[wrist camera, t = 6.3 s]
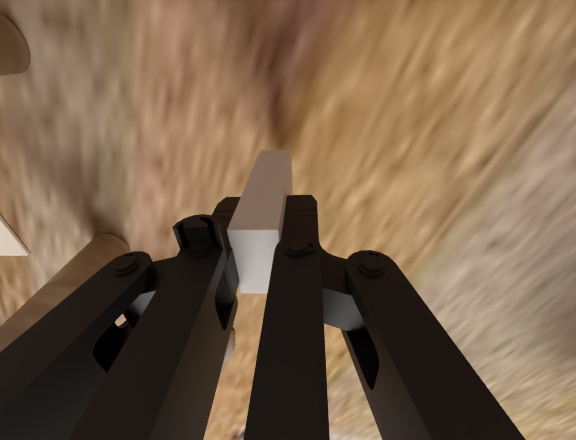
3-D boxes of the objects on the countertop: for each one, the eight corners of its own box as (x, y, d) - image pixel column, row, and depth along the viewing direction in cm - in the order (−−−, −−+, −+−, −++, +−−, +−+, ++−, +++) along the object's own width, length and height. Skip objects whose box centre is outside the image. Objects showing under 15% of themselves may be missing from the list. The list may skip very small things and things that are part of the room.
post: (121, 233, 19) (3, 358, 12) (135, 260, 21) (38, 386, 13) (87, 233, 19) (-50, 356, 12) (103, 260, 21) (-10, 384, 13)
